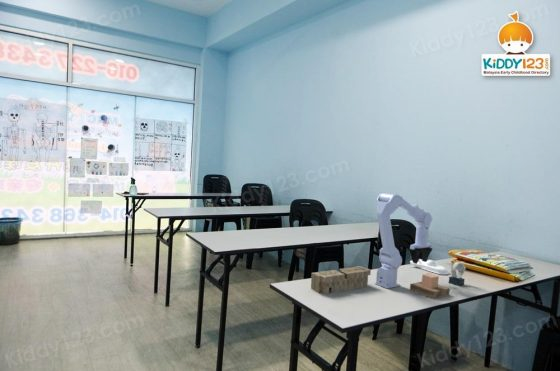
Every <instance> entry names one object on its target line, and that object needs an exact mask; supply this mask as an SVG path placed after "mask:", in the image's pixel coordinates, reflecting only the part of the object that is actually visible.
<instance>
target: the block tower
mask: <svg viewBox="0 0 560 371" xmlns="http://www.w3.org/2000/svg"><path fill="white" fill-rule="evenodd" d="M371 271H372V269H370V268H366V267H364V266H361V265H357V266H352V267H345V268H339V269H338V270H336V269H331V270H326V271H325V270H323V271H317V272H311V280H310V282H311V283H310V289H311V290H312V289H313V290H312V291H314V290H315V291H314V292H316V293H322V294H323V295H325V294H326V295H327V294H329V293H337V292H343V291H342V290H344V291H349V290H355V289H359V288H360V289H361V288H366V287H368V285H369V284H368V282H369V276H371V273H372V272H371Z"/></svg>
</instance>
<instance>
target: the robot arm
mask: <svg viewBox="0 0 560 371" xmlns="http://www.w3.org/2000/svg"><path fill="white" fill-rule="evenodd" d="M376 205H377V209H376V217H377V221H378V227H379V233H380V239H381V245H382V247H381V248H380V249H379V257H378V260H379V262H380V265H381V267H379V268H377V270H376V279H375V280H376V281H375V282H374V284H375V285H377V286H380V287H383V288H385V289H391V288H396V287H400V286H401V284H399V283H398V282H397V280H398V271H399V270H398V269H399V268H400V267H401V265H402V263H403V257H402V256H401V254H400V251H399V249H398V248H397V247H396V246H395V239H394V235H393V234H394V233H393V228H392V223H391V222H392V221H391V214H394V213H395V211H397V210H398V209H399V207H400V208H401V209H403V210H405V211H406V214H407V215H408V216H410V217H411V218H413V219H414V221H415V222H416V231H415V241H414V242H415V243H413V244H410V247H409V248H408V251H409V253H410V255H411V261H413V263H416V264H417V262H419V256H420V253H421V260H422V261H424V262H427V261H428V260H429V256H430V254H431V252H432V251H433V248H432V243H431V242H429V240H428V239H429V228H430V227H431V223H432V221H433V216H432V214H431V213H430V212H427V211H425V210H424V208H421V207H419V205H418V204H411V203H409V202H408V201H407V200H406V199H404V198H403V197H402V196H401V195H399V194H394V193H393V194H392V193H386V192H381V193H380V194H379V195H378V196H377V198H376Z"/></svg>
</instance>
